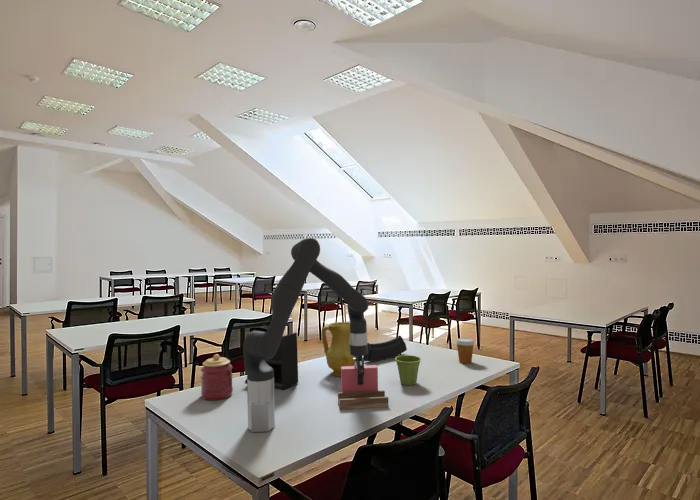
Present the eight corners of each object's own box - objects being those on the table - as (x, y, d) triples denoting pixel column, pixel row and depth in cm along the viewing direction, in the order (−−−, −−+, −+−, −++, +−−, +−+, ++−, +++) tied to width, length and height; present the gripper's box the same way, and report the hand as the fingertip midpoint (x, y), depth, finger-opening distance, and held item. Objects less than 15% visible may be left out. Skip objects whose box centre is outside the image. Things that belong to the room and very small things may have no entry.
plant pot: (390, 383, 201) (389, 358, 200) (406, 377, 209) (405, 353, 209) (411, 389, 192) (410, 363, 192) (426, 382, 201) (426, 358, 201)
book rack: (388, 406, 172) (388, 397, 172) (339, 409, 170) (339, 400, 170) (384, 398, 181) (384, 390, 181) (338, 401, 179) (337, 392, 179)
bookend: (244, 382, 205) (243, 332, 205) (260, 376, 215) (259, 328, 214) (283, 390, 193) (282, 336, 193) (298, 383, 203) (298, 332, 203)
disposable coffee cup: (454, 359, 239) (454, 337, 239) (472, 359, 239) (472, 337, 239) (458, 364, 230) (457, 341, 230) (476, 364, 229) (476, 341, 229)
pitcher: (342, 380, 205) (340, 325, 206) (318, 373, 219) (317, 323, 221) (369, 373, 216) (367, 322, 218) (344, 368, 231) (343, 320, 232)
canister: (224, 388, 197) (223, 349, 197) (238, 395, 187) (237, 354, 187) (196, 395, 189) (195, 354, 188) (208, 403, 179) (208, 359, 179)
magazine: (362, 347, 233) (401, 324, 250) (358, 346, 235) (397, 323, 253) (370, 377, 236) (408, 352, 254) (366, 375, 239) (403, 351, 256)
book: (378, 396, 184) (377, 367, 184) (342, 398, 182) (341, 369, 182) (376, 393, 188) (376, 365, 188) (341, 394, 186) (340, 366, 186)
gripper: (369, 346, 178) (370, 386, 179) (364, 338, 193) (365, 375, 193) (351, 347, 178) (352, 387, 178) (347, 339, 192) (348, 376, 192)
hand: (359, 381), depth 185 cm, fingers open, 8 cm apart
